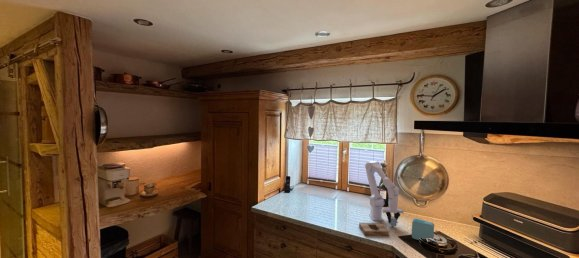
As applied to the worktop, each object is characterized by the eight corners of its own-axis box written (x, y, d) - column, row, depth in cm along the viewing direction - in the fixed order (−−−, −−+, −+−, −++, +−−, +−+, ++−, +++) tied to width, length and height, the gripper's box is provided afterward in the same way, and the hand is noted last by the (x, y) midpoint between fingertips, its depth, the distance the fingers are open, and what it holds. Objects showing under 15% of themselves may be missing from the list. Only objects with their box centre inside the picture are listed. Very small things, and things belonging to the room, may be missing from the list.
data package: (433, 241, 147) (434, 222, 147) (432, 244, 144) (433, 225, 143) (412, 235, 154) (413, 217, 153) (411, 238, 150) (412, 220, 150)
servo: (387, 221, 169) (387, 213, 169) (391, 221, 169) (392, 213, 169) (392, 227, 161) (392, 219, 160) (397, 227, 161) (397, 219, 160)
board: (359, 226, 164) (359, 222, 164) (381, 227, 165) (381, 223, 164) (364, 235, 152) (365, 231, 152) (388, 235, 153) (389, 231, 152)
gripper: (385, 205, 160) (384, 224, 161) (406, 206, 160) (405, 225, 161) (381, 202, 167) (380, 220, 168) (401, 202, 167) (400, 220, 168)
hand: (392, 222), depth 165 cm, fingers closed on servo, 4 cm apart
